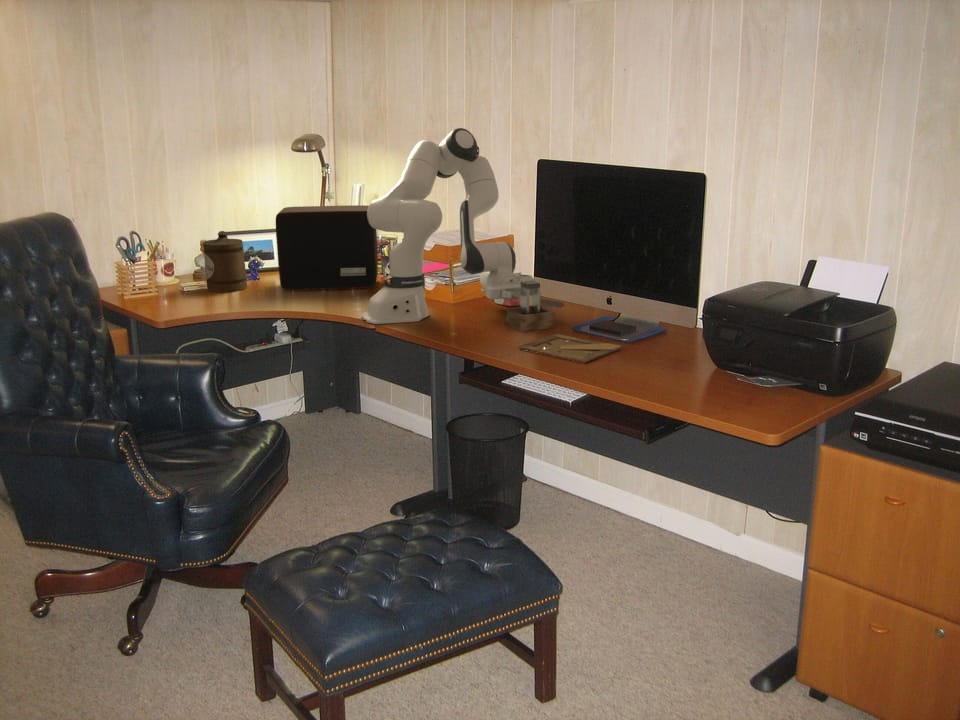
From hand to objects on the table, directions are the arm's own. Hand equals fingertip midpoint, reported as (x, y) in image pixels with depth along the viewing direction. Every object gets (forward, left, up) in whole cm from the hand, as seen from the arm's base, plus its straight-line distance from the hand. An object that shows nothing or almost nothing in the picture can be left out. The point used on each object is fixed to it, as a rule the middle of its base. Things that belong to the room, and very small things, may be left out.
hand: (525, 294), depth 303 cm
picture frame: (-1, -33, -11) cm, 34 cm away
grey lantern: (0, -3, -9) cm, 9 cm away
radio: (-42, +85, -10) cm, 95 cm away
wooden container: (-79, +99, -10) cm, 127 cm away
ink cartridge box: (+6, +27, -10) cm, 30 cm away
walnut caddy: (0, -3, -10) cm, 10 cm away
